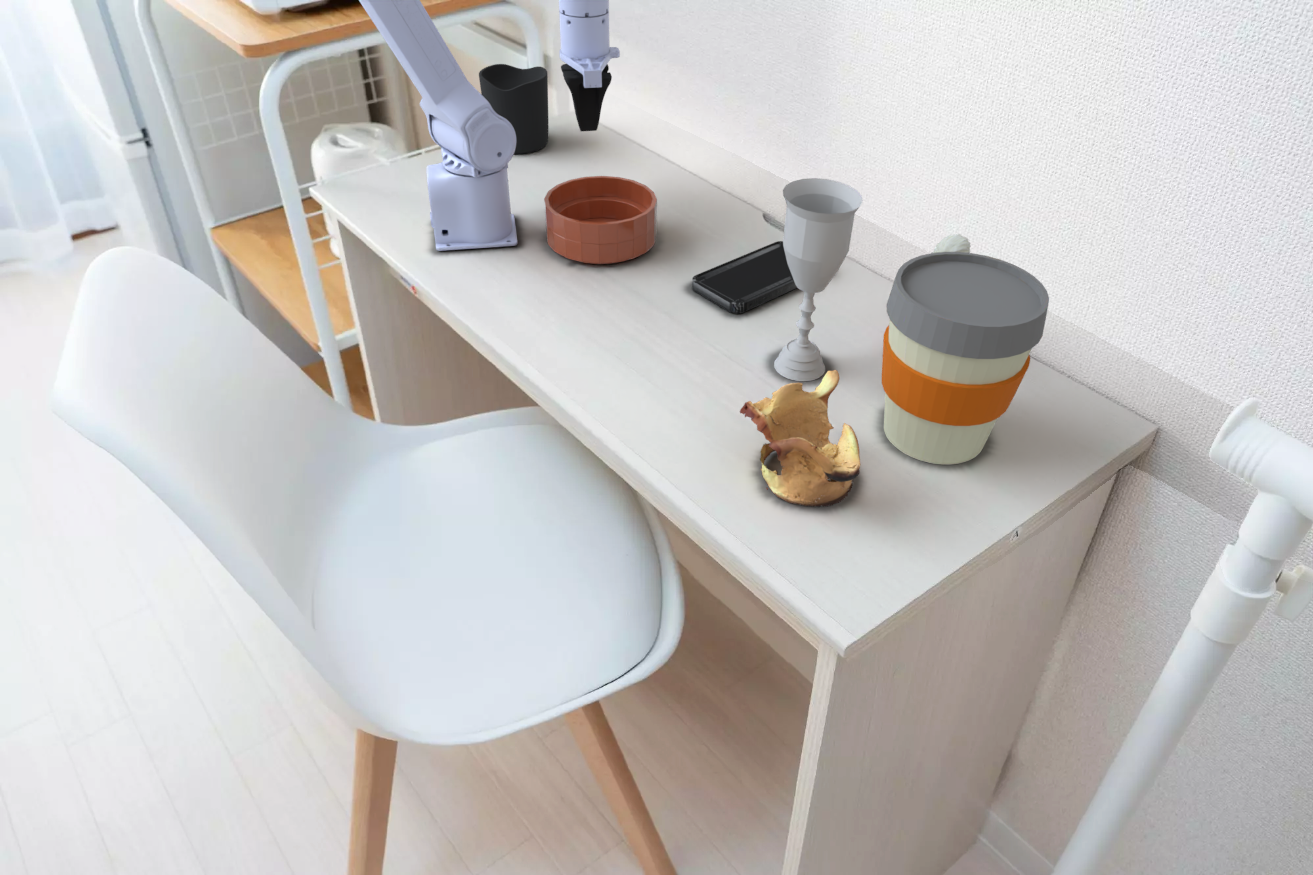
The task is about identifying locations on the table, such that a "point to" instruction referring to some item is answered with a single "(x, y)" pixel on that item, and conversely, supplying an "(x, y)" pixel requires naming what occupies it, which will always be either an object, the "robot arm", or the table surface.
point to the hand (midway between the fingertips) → (587, 127)
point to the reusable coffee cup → (956, 351)
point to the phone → (747, 279)
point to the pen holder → (519, 102)
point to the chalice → (814, 259)
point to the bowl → (601, 219)
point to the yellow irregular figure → (805, 445)
